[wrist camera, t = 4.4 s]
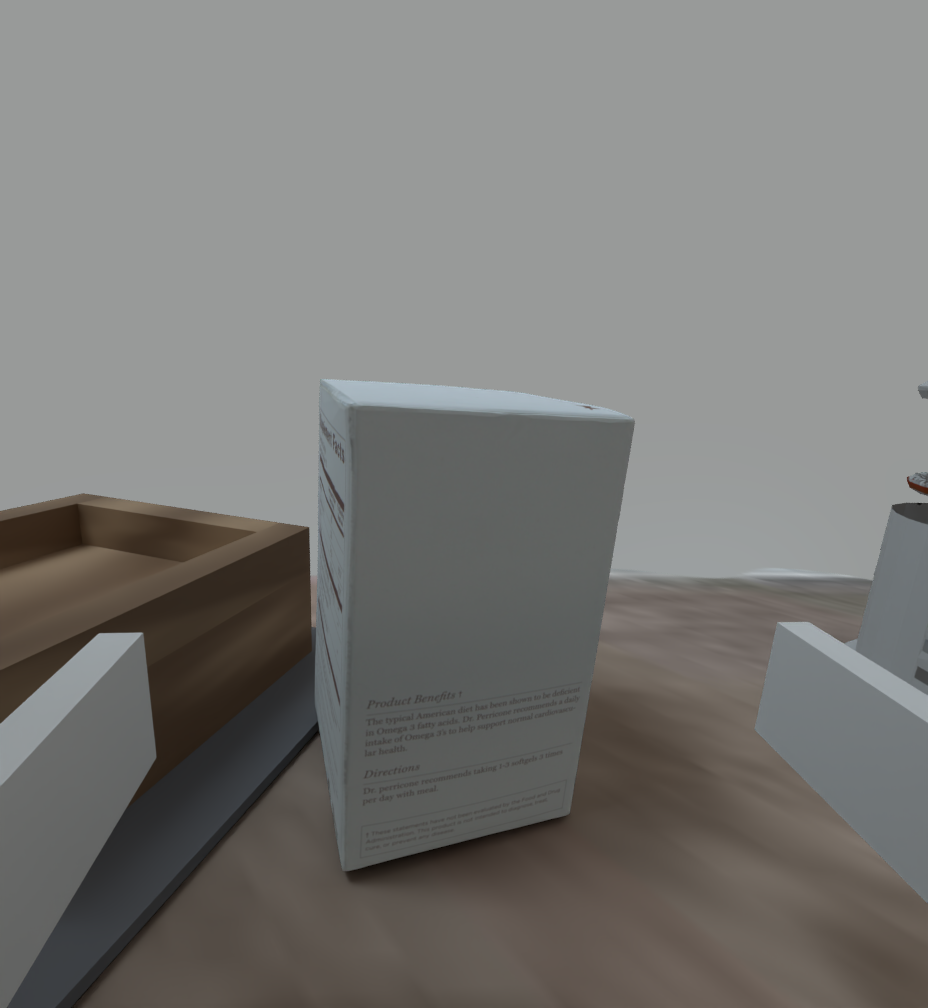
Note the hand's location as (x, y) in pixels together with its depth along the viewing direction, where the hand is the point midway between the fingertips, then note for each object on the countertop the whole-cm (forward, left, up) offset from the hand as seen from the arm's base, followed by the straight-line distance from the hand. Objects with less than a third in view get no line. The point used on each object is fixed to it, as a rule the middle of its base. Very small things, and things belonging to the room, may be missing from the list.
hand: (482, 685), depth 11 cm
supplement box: (-3, +5, -7) cm, 9 cm away
